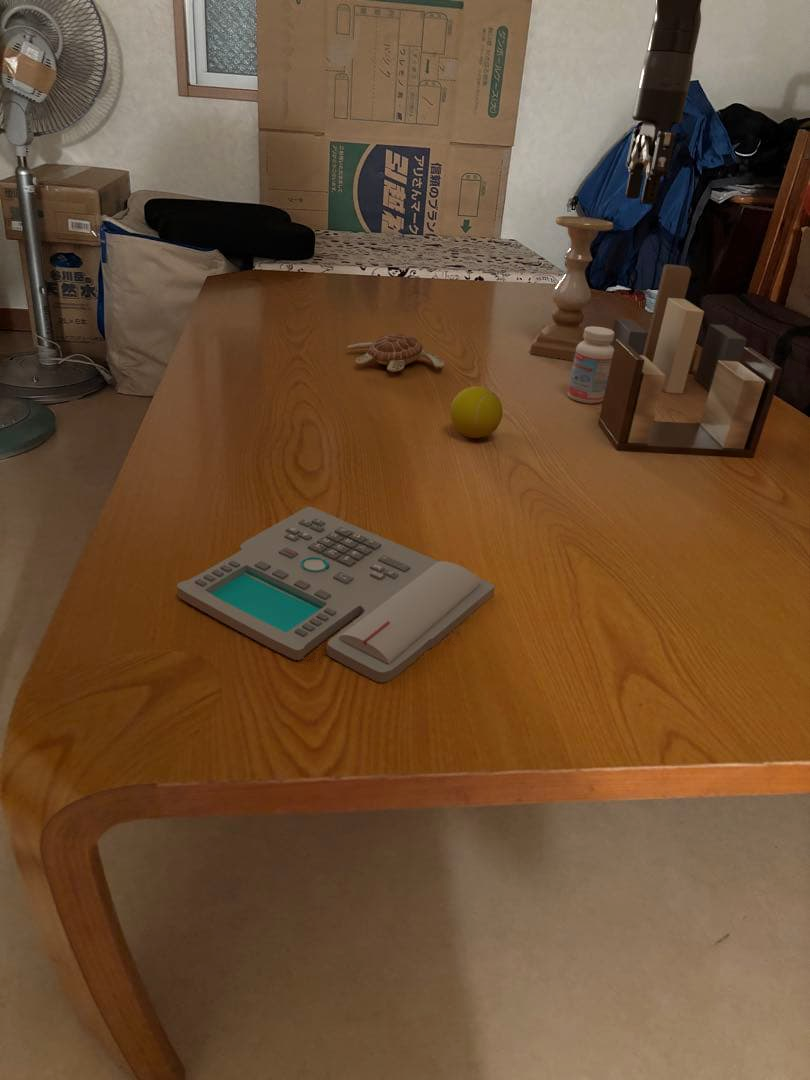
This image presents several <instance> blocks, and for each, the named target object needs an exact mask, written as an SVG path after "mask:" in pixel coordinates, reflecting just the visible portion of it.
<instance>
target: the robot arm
mask: <svg viewBox="0 0 810 1080" xmlns="http://www.w3.org/2000/svg"><path fill="white" fill-rule="evenodd" d="M701 7H702V0H655V10H654V16H653V21H652V24H651V28H650V34H649V38H648V43H647V49H646V53H645V58H644V60H643V64H642V67H641V71H640V75H639V81H638V84H637V85H638V86H637V91H636V97H635V101H634V106H633V111H632V120H633V121H635V122H642V124H641V127H634V128H633V131H632V136H631V140H630V144H629V149H628V153H627V159H626V163H625V167H626V168H627V169H628V170H627V171H628V173H629V174H628V179H627V184H626V189H625V195H624V196H625V197H626V198H627V199H633V200H634V199H635V200H636V199H639V197H640V194H641V191H642V194H641V198H640V203H641V204H643V205H652V206H653V205H655V204H656V202H657V198H658V193H659V189H660V185H661V180H663V178H664V176H668V175H669V172H670V166H671V162H672V157H673V151H674V147H675V143H676V137H677V133H676V132H675V131H669V126H670V125H679V124H680V123H681V122H682V119H683V114H684V111H685V107H686V106H685V105H686V101H687V96H688V92H689V88H690V82H691V78H692V74H693V67H694V66H693V65H694V57H695V52H696V49H697V43H698V40H699V34H700V30H701V23H702V11H701V10H702V9H701ZM644 173H645V179H644ZM643 179H644V184H643ZM642 185H643V187H642ZM642 188H643V189H642Z"/></svg>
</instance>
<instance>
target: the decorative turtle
mask: <svg viewBox="0 0 810 1080" xmlns="http://www.w3.org/2000/svg"><path fill="white" fill-rule="evenodd" d="M423 347H424V346H423V344H422V343H420V342H419V339H418V338H416V336H415V337H414V336H410V335H408V334H404V333H401V332H399V333H397V332H396V333H389V334H384V335H382V336H380V337H379V338H378V339H376V340H374V341H365V342H359V343H354V344H349V345H348V346H346V348H347V349H348V350H349V351H350V350H351V351H352V350H361V349H367V350H366V353H364V354H362V355H359V356H358V357H357V358H356V359H355V364H357V365H359V366H361V365H363V364H367V363H368V362H370V361H375V362H377V363H379V364H380V365H384V366H387V368H386V369H387V371H388V372H391V373H394V372H400V371H402V370H404V368H405V367H406V365H408V364H411V363H412V362H415V361H417V360H418V359H419V358H421V357H423V358H425V359H427V360H428V361H430V363H432V364H433V366H434V368H435V369H440V368H443V367H444V366H445V361H444V360H443V359H442V357H441V356H439V355H437V354H434V353H433V352H431V351H428V350H426V349H424V348H423Z"/></svg>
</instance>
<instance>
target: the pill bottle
mask: <svg viewBox="0 0 810 1080" xmlns="http://www.w3.org/2000/svg"><path fill="white" fill-rule="evenodd" d="M583 330H584V334H583V336H584V337H583V338H584V341H582V342H580V343H579V344H578V345H577V348H576V352H575V357H574V361H572V367H571V372H570V378H569V384H568V388H567V396H568V397H569V398H570V399H571V400H572V401H576V402H577V403H581V404H588V405H592V404H593V405H594V404H599V403H600V404H601V403H603V399H604V394H605V390H606V385H607V380H608V376H609V371H610V366H611V362H612V357H613V352H614V348H613V347H612V346H611V345H610V343H611V342H612V341H613V338H614V331H613V329H610V328H607V327H602V326H593V325H591V326H586V327H585V328H584V329H583Z"/></svg>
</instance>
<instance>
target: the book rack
mask: <svg viewBox="0 0 810 1080" xmlns="http://www.w3.org/2000/svg"><path fill="white" fill-rule="evenodd" d="M782 372H783V368H782V367H780V366H779V365H778V364H776V363H774V362H773V361H771V360H770V359H768V358H767V357H765V356H764V355H762V353H760V352H757V351H756V350H755V349H753V347H746V346H745V347H744V350H743V353H742V356H741V360H740V363H739V362H737V361H721V360H719V361H718V364H717V367H716V371H715V374H714V378H713V381H712V385H711V388H710V392H709V391H708V392H709V393H708V396H707V400H706V403H705V406H704V410H703V414H702V417H701V421H700V423H695V422H675V421H661V420H659V421H658V420H655V418H656V414H657V410H658V406H659V402H660V400H661V399H660V398H661V395H662V391H663V389H662V387H663V383H664V379H665V374H663V373H662V372H661V371H660V370H659V369H658V368H657V367H656V366H655V365H654V364H653V363H652V362H651V361H650V360H649V359H648V358H646V357H645V356H643V355H639V354H638V353H637V352H636V351H634V350H633V349H632V348H631V347H630V346H629V345H628V344H627V343H626V342H625V341H624V340H623V339H616V343H615V348H614V352H613V357H612V362H611V366H610V371H609V376H608V380H607V385H606V390H605V394H604V399H603V401H602V404H601V407H600V413H599V418H598V423H597V424H598V426H599V427H600V429H601V430H602V433H604V435H605V436H606V438H607V439H608V440H609V442H610V443H611V444H612V446H613V448H614V449H615V450H616V451H621V452H638V453H639V452H640V453H658V454H661V453H662V454H675V455H676V454H678V455H679V454H680V455H697V456H713V457H730V458H731V457H732V458H753V459H754V457H755V454H756V451H757V448H758V445H759V442H760V440H761V436H762V433H763V430H764V428H765V424H766V421H767V419H768V414H769V412H770V408H771V405H772V402H773V399H774V396H775V393H776V391H777V387H778V384H779V381H780V378H781V375H782Z"/></svg>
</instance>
